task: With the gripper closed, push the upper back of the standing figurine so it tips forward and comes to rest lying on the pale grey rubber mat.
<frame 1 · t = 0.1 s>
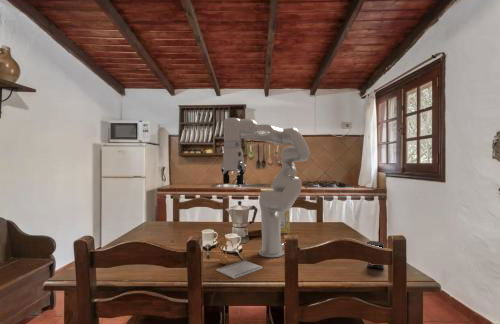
hand: (233, 183, 127), 37 cm above the table, tool pointing down, fingers open, 9 cm apart
supplement container: (375, 267, 122), on the table
mat: (239, 269, 122), on the table
figurine: (224, 263, 130), on the table
pasta box: (275, 231, 188), on the table
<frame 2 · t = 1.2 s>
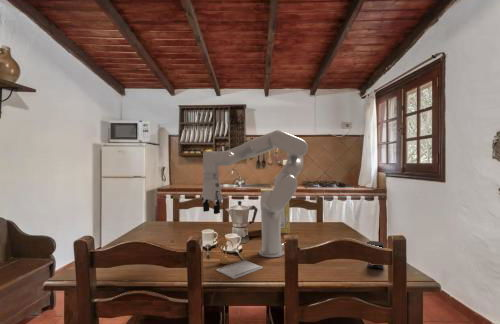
hand: (211, 212, 137), 22 cm above the table, tool pointing down, fingers open, 8 cm apart
nothing on the table moved.
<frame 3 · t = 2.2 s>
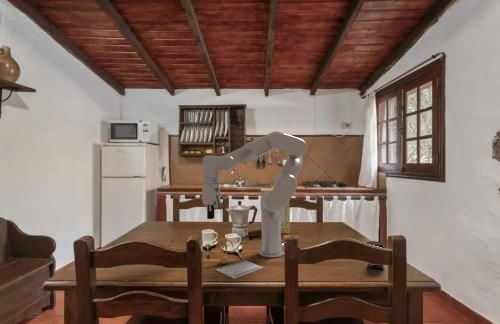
hand: (210, 218, 138), 19 cm above the table, tool pointing down, fingers closed
nothing on the table moved.
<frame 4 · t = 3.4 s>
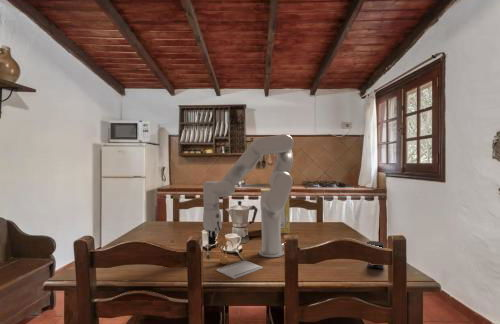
hand: (211, 244, 138), 7 cm above the table, tool pointing down, fingers closed
nothing on the table moved.
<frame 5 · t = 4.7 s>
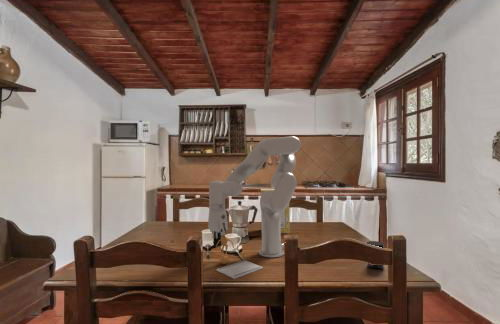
hand: (217, 245, 133), 7 cm above the table, tool pointing down, fingers closed
figurine: (224, 262, 130), on the table, touching gripper
everything else where it was.
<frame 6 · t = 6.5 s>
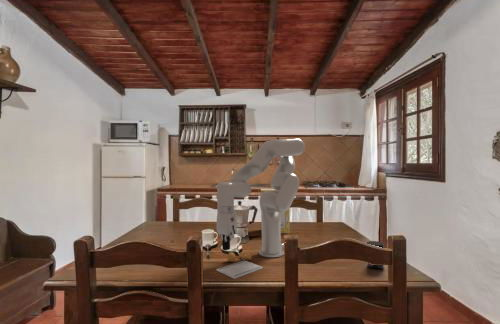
hand: (226, 249, 129), 7 cm above the table, tool pointing down, fingers closed
figurine: (227, 260, 131), point 1 cm above the table
everything else where it was.
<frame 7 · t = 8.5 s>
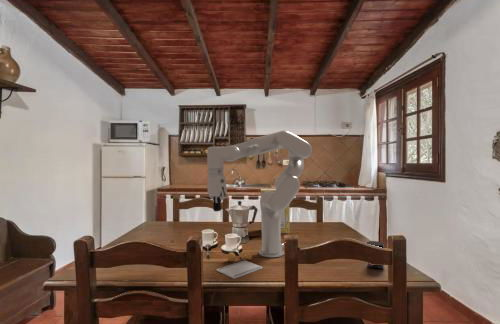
hand: (217, 210, 135), 23 cm above the table, tool pointing down, fingers closed
nothing on the table moved.
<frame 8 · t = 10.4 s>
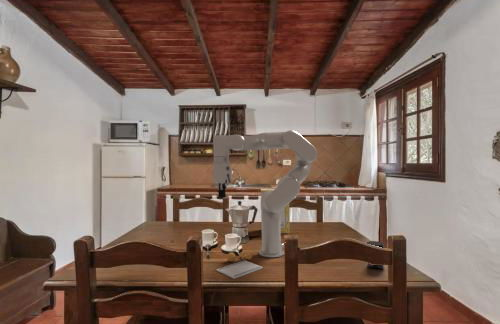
hand: (222, 197, 139), 29 cm above the table, tool pointing down, fingers closed
nothing on the table moved.
at the end: figurine tilted 78°; figurine inside the target area on the mat (9.2 cm from its centre), point 0.7 cm above the mat's base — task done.
